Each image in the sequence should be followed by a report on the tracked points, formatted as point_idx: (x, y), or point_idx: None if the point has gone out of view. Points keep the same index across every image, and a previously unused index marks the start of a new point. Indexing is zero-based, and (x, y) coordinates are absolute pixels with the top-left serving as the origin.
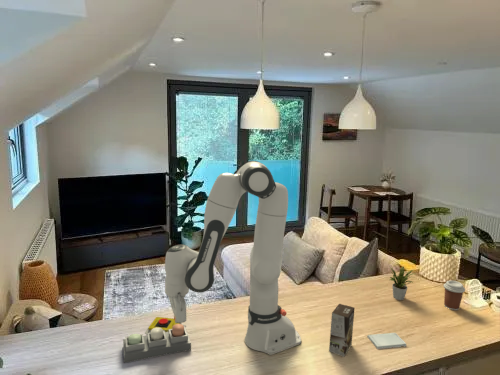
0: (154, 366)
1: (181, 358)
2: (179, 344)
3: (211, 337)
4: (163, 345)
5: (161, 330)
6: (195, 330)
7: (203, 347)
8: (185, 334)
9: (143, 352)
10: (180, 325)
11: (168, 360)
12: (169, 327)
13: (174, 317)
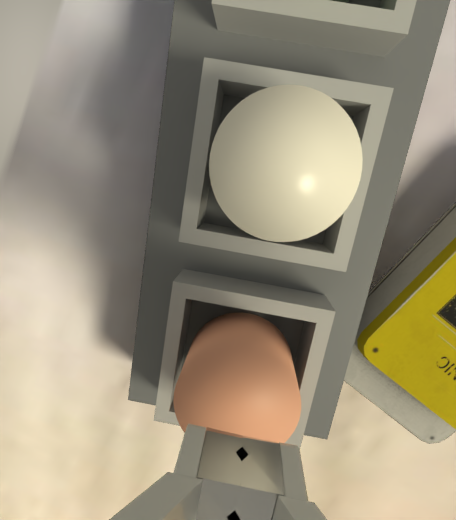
0: (74, 96)
1: (87, 286)
2: (142, 321)
3: None
4: (183, 204)
5: (260, 223)
6: (337, 469)
7: (138, 436)
8: None
9: (176, 12)
10: (253, 435)
11: (100, 205)
12: (432, 335)
13: (259, 475)
